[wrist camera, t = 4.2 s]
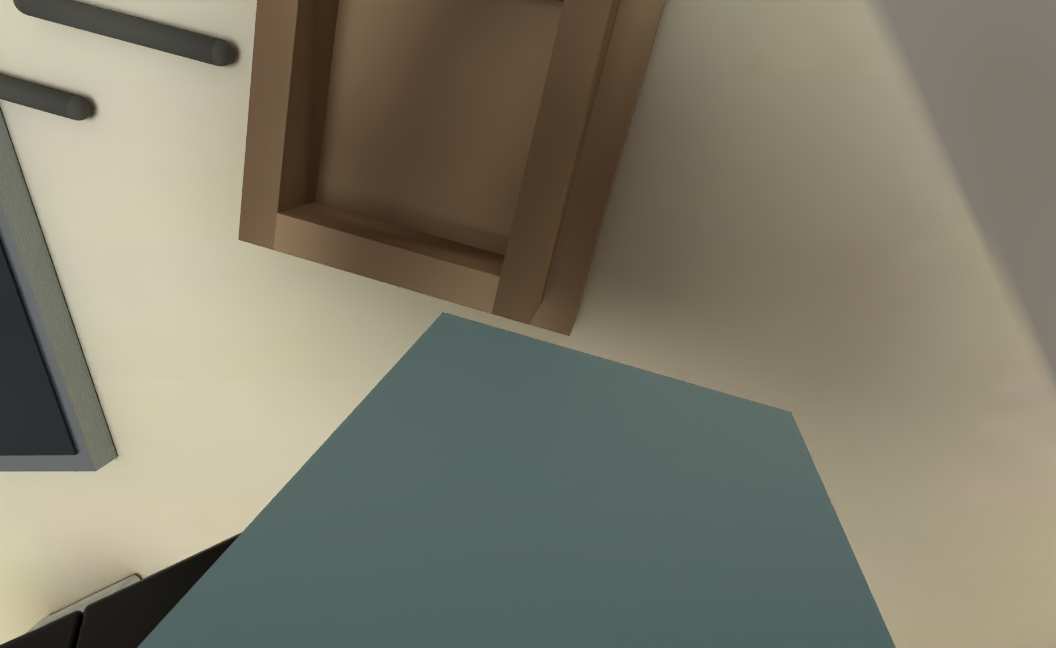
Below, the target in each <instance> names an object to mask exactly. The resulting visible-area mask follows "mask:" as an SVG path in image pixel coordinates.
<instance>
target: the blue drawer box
mask: <svg viewBox="0 0 1056 648" xmlns="http://www.w3.org/2000/svg"><path fill="white" fill-rule="evenodd" d="M137 648H895V645H894V643H893V641H892V639H891V636H890V634H889V632H888V630H887V627H886V625H885V623H884V621H883V618H882V616H881V614H880V611H879V609H878V607H877V605H876V602H875V600H874V598H873V596H872V593H871V591H870V589H869V587H868V584H867V582H866V580H865V578H864V575H863V573H862V571H861V569H860V566H859V564H858V562H857V560H856V557H855V555H854V553H853V551H852V548H851V546H850V544H849V542H848V539H847V537H846V535H845V533H844V530H843V528H842V526H841V524H840V521H839V519H838V517H837V515H836V512H835V510H834V508H833V506H832V503H831V501H830V499H829V497H828V494H827V492H826V490H825V488H824V485H823V483H822V481H821V479H820V476H819V474H818V472H817V470H816V467H815V465H814V463H813V461H812V458H811V456H810V454H809V452H808V449H807V447H806V445H805V443H804V440H803V438H802V436H801V434H800V431H799V429H798V427H797V425H796V422H795V420H794V418H793V416H792V413H791V412H788V411H784V410H781V409H777V408H774V407H771V406H767V405H764V404H760V403H757V402H753V401H750V400H746V399H743V398H739V397H736V396H732V395H729V394H725V393H722V392H718V391H715V390H711V389H708V388H704V387H701V386H697V385H694V384H691V383H687V382H684V381H680V380H677V379H673V378H670V377H666V376H663V375H659V374H656V373H652V372H649V371H645V370H642V369H638V368H635V367H631V366H628V365H624V364H621V363H618V362H614V361H611V360H607V359H604V358H600V357H597V356H593V355H590V354H586V353H583V352H579V351H576V350H572V349H569V348H565V347H562V346H558V345H555V344H551V343H548V342H544V341H541V340H538V339H534V338H531V337H527V336H524V335H520V334H517V333H513V332H510V331H506V330H503V329H499V328H496V327H492V326H489V325H485V324H482V323H478V322H475V321H471V320H468V319H465V318H461V317H458V316H454V315H451V314H447V313H444V312H443V313H442V314H441V315H440V316H439V317H438V319H437V320H436V321H435V322H434V323H433V324H432V325H431V326H430V327H429V328H428V329H427V331H426V332H425V333H424V334H423V335H422V336H421V337H420V338H419V339H418V340H417V342H416V343H415V344H414V345H413V346H412V347H411V348H410V349H409V350H408V351H407V352H406V354H405V355H404V356H403V357H402V358H401V359H400V360H399V361H398V362H397V363H396V365H395V366H394V367H393V368H392V369H391V370H390V371H389V372H388V373H387V374H386V375H385V377H384V378H383V379H382V380H381V381H380V382H379V383H378V384H377V385H376V386H375V388H374V389H373V390H372V391H371V392H370V393H369V394H368V395H367V396H366V397H365V399H364V400H363V401H362V402H361V403H360V404H359V405H358V406H357V407H356V408H355V409H354V411H353V412H352V413H351V414H350V415H349V416H348V417H347V418H346V419H345V420H344V422H343V423H342V424H341V425H340V426H339V427H338V428H337V429H336V430H335V431H334V432H333V434H332V435H331V436H330V437H329V438H328V439H327V440H326V441H325V442H324V443H323V445H322V446H321V447H320V448H319V449H318V450H317V451H316V452H315V453H314V454H313V455H312V457H311V458H310V459H309V460H308V461H307V462H306V463H305V464H304V465H303V466H302V468H301V469H300V470H299V471H298V472H297V473H296V474H295V475H294V476H293V477H292V478H291V480H290V481H289V482H288V483H287V484H286V485H285V486H284V487H283V488H282V489H281V491H280V492H279V493H278V494H277V495H276V496H275V497H274V498H273V499H272V500H271V501H270V503H269V504H268V505H267V506H266V507H265V508H264V509H263V510H262V511H261V512H260V514H259V515H258V516H257V517H256V518H255V519H254V520H253V521H252V522H251V523H250V525H249V526H248V527H247V528H246V529H245V530H244V531H243V532H242V533H241V534H240V535H239V537H238V538H237V539H236V540H235V541H234V542H233V543H232V544H231V545H230V546H229V548H228V549H227V550H226V551H225V552H224V553H223V554H222V555H221V556H220V557H219V558H218V560H217V561H216V562H215V563H214V564H213V565H212V566H211V567H210V568H209V569H208V571H207V572H206V573H205V574H204V575H203V576H202V577H201V578H200V579H199V580H198V581H197V583H196V584H195V585H194V586H193V587H192V588H191V589H190V590H189V591H188V592H187V594H186V595H185V596H184V597H183V598H182V599H181V600H180V601H179V602H178V603H177V604H176V606H175V607H174V608H173V609H172V610H171V611H170V612H169V613H168V614H167V615H166V617H165V618H164V619H163V620H162V621H161V622H160V623H159V624H158V625H157V626H156V628H155V629H154V630H153V631H152V632H151V633H150V634H149V635H148V636H147V637H146V638H145V640H144V641H143V642H142V643H141V644H140V645H139V646H138V647H137Z"/></svg>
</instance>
